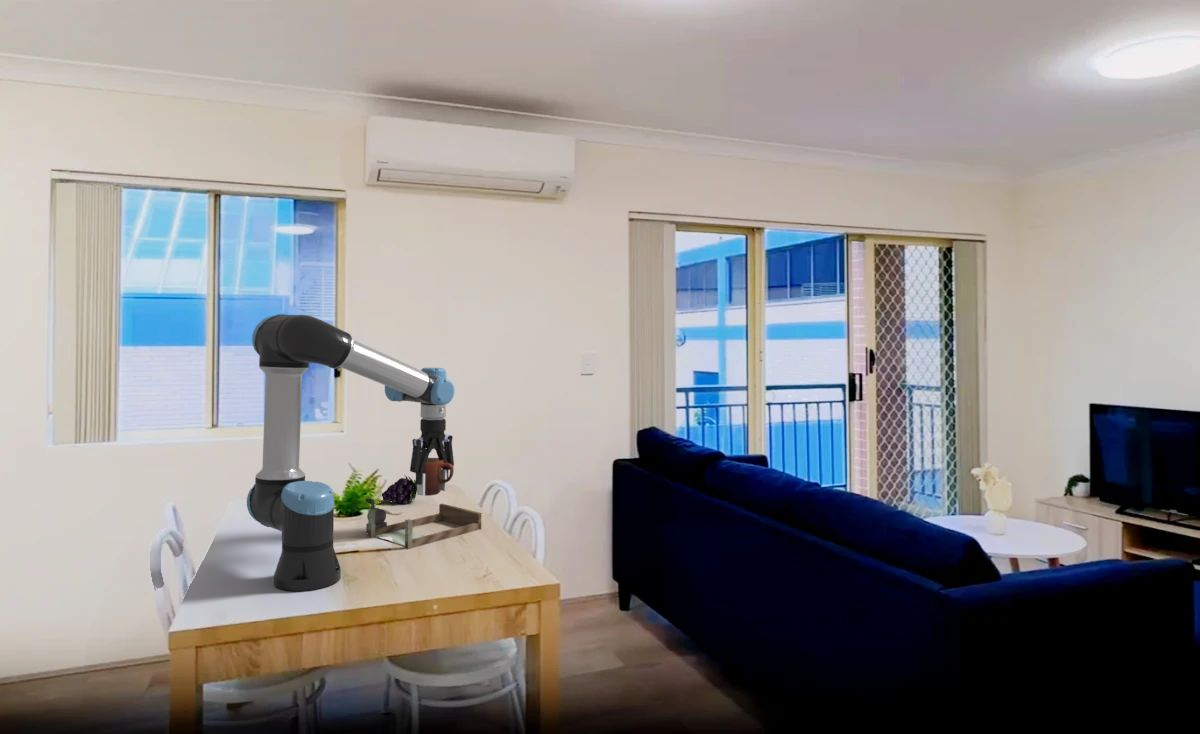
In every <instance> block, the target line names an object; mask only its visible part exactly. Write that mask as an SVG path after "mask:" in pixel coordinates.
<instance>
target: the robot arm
mask: <svg viewBox="0 0 1200 734" xmlns="http://www.w3.org/2000/svg"><path fill="white" fill-rule="evenodd" d="M251 343H252V346H253V349H254V351H255V352H256V353H257V354H258V356H259V357H258V359H259V360H258V361H259V364H258V367H259V369H260V370H261V371H262V372H263V373H264V374H265V382H264V383H265V384H264V385H265V386H264V410H263V414H264V416H263V441H262V442H263V444H262V468H261V469H260V471H258V472H257V473H256V475H255V483H254V484H253V486H252V488H250V490H249V491H248V493H247V496H246V507H247V511H248V513H249V514H250V517H252V519H253V520H254V521H256V522H258V523H259V524H260V525H262V526H263V527H267V528H271V529H275V530H277V531H279V532H281V554H280V557H279V559H278V563H277V565H276V568H275V571H274V574H273V586H274V587H275V588H277V589H280V590H284V591H291V592H292V591H293V592H300V591H312V590H318V589H319V590H320V589H323V588H326V587H330V586H333V585H334V584H336V583H339V581H340V580H341V578H342V570H341V569H342V568H341V565H340V562H339V559H338V557H337V554H336V550H335V548H334V547H335V546H334V521H335V520H334V517H335V516H334V515H335V514H334V511H335V509H334V508H335V497H334V491H333V488H331V486H329V485H328V484H326V483H324V482H321V481H312V480H306V473H305V472H304V471H303V470H302V469H301V467H300V452H301V451H300V450H301V448H300V447H301V445H300V444H301V424H302V423H301V422H302V419H301V418H302V398H303V397H302V395H303V393H302V391H303V375H304V374H305V373H306V372H307V371H308V370H309V369H310V363H311V364H317V365H322V366H326V367H328V368H331V369H333V370H334V369H338V368H342V369H343V370H347V371H349V372H352V373H354V374H357V375H359V376H360V377H361V376H362V377H363V378H366V379H369V380H371V381H374V382H376V383H379V384H381V385H384V394H385V396H386V397H387V399H388V400H389V401H391V402H399V403H400V402H414V403H420V413H419V414H420V418H421V419H420V420H419V421H420V424H419V425H420V428H419V429H420V432H421V435H420V437H419V438H413V439H412V442H411V443H412V452H411V460H410V467H409V471H410V472H411V473H414V474H415V481H416V484H417V492H416V495H417V496H418V495H419V496H424V495H425V474H424V473H423V471H424V468H425V463H426V462H427V459H428V458H429V456H430V454H431V453H432V451H433V450H435V452H436V455H437V458H439V460H444V463H450V464H452V465H453V467H454V466H455V463H454V462H455V461H454V454H453V453H454V451H453V439H454V437H453V436H452V435H449V434H445V432H446V429H447V428H446V426H447V421H446V419H445V418H446V416H447V408H446V407H447V405H448V404H449V403H451V402H452V400H453V398H454V396H455V386H454V383H453V382H452V381H451V380H450V379H448V378H447V371H446V369H445V368H443V367H423V368H421V370H420V369H418V368H417V367H414V366H412V365H409V364H408V363H405V362H403V361H401V360H398V359H397V358H394V357H392V356H389V354H385V353H383V352H381V351H379V350H377V349H375V348H372V347H370V346H368V345H366V344H363V343H362V342H358V341H357V340H354V339H353V336H352V335H351V334H350V333H348V332H347V331H344V330H342V329H340V328H339V327H336V326H334V325H332V324H330V323H328V322H326V321H324V320H322V319H320V318H317V317H314V316H311V315H308V314H285V313H282V314H279V313H278V314H276V315H270V316H267V317H265V318H263V319H262V320H261V321H260V322H259V323H258V324H257V325H256V326H255V327H254V330H253V333H252V336H251ZM449 471H450V467H449V466H444V467H442V469H441V477H442V479H443V480H445V479H447V478H448V477H449ZM447 485H448V482H446V483H444V484H442V486H441V491H442V492H447V491H448V489H447V487H448V486H447ZM424 497H425V496H424Z"/></svg>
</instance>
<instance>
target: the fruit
mask: <svg viewBox="0 0 1200 734" xmlns="http://www.w3.org/2000/svg"><path fill="white" fill-rule="evenodd" d="M404 477H405V478H403V477H400V478H399V479H398V480H397V481H395V482H394V483H393V484H390V485H389V486H388V487H387V489H386V490H385V491H383V492H382V493H381V497H382V500H383V502H387V501H388V502H389V501H392V503H391V504H393V503H396V502H397V503H398V504H403V505H407V504H408V503H409V502H411V501H415V499H416V497H419V496H420V495H418V494H417V487H416V486H417V484H416V479H412V477H410V476H407V475H404Z"/></svg>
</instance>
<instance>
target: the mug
mask: <svg viewBox="0 0 1200 734" xmlns="http://www.w3.org/2000/svg"><path fill="white" fill-rule="evenodd" d="M444 466H449V467H450V470H449V474H448V478H447V479H445V480H443V479H442V477H441V469H442V467H444ZM454 472H455V471H454V466H453V465H452V464H450V463H444V460H439V458H438V457H428V459H427V462H426V463H425V468H424V471H423V473H424V474H425V495H424V497H425V496H426V497H427V496H428V497H429V496H436V495H439V494H440V493H441V486H442V484H444V483H446V482H447V483H448V482H449V481H451V480H452V478H453V476H454ZM416 487H417V486H416Z"/></svg>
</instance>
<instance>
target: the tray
mask: <svg viewBox="0 0 1200 734" xmlns="http://www.w3.org/2000/svg"><path fill="white" fill-rule="evenodd" d="M365 503H368V504H369V505H370V509H368V512H367V516H366V517H367V521H368V523H366V525H365V526H366V527H365V528H366V529H365V530H366V531H365V533H368V534H367V537H368V536H370V537H369V538H376V537H388V536H390V537H392V538H393V544H396V545H398V546H403V547H404V549H407V550H409V549H412V548H416V547H421V546H424V545H427V544H431V543H435V542H438V541H442V540H447V539H450V538H454V537H457V536H460V535H465V534H467V533H470V532H471V533H472V532H475V531H479V530H481V529H482V512H479V511H476V510H475V511H474V510H470V509H468V508H467V509H466V508H462V507H457V506H453V505H449V504H445V503H439V505H438V506H439V510H438V512H439V513H436V514H435V513H434V514H431V515H427V516H422V517H418V518H417V517H416V518H414V519H410V518H408V519H405V520H404V521H401V522H397V523H393V524H392V523H391V524H388V522H387V521H386V518H387V512H386V511H385V510H384V509H381V508H377V507H375V499H373V498H369V497H366V498H365ZM439 521H443V522H444V521H445V522H447V523H452V524H455V525H459V526H457V527H455V528H449V529H446V530H442V531H438V532H433V533H431V534H428V535H424V534H421V533H417V532H413V528H415V527H419V526H423V525H427V524H431V523H432V524H433V523H435V522H439ZM478 529H479V530H478Z"/></svg>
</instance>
